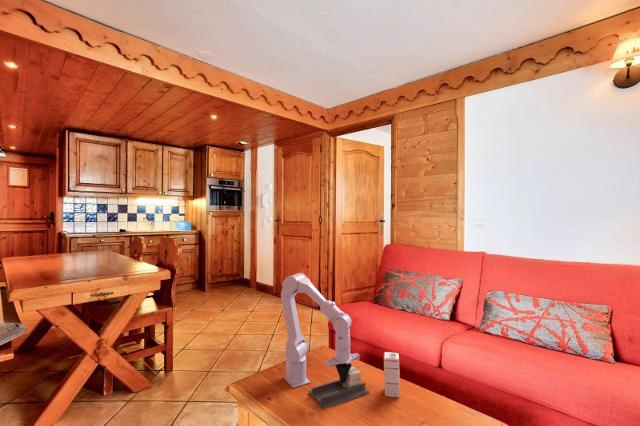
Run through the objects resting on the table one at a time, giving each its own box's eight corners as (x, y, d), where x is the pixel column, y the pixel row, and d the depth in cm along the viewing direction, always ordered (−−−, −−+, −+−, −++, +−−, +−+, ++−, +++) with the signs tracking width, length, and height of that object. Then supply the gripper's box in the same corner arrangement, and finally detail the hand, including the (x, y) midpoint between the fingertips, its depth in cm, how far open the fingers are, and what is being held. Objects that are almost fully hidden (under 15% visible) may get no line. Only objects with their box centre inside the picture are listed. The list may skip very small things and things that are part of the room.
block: (342, 384, 125) (342, 369, 125) (353, 381, 128) (353, 366, 128) (350, 390, 121) (349, 375, 121) (360, 387, 123) (360, 371, 123)
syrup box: (400, 397, 118) (399, 359, 118) (384, 396, 119) (383, 357, 119) (399, 389, 123) (399, 352, 124) (384, 388, 125) (383, 351, 125)
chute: (308, 392, 121) (308, 385, 121) (351, 379, 131) (351, 372, 131) (324, 409, 111) (324, 400, 111) (369, 393, 121) (369, 385, 121)
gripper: (332, 354, 115) (332, 391, 115) (364, 346, 122) (364, 381, 122) (322, 347, 121) (322, 383, 121) (353, 340, 129) (353, 373, 128)
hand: (343, 381), depth 122 cm, fingers closed
